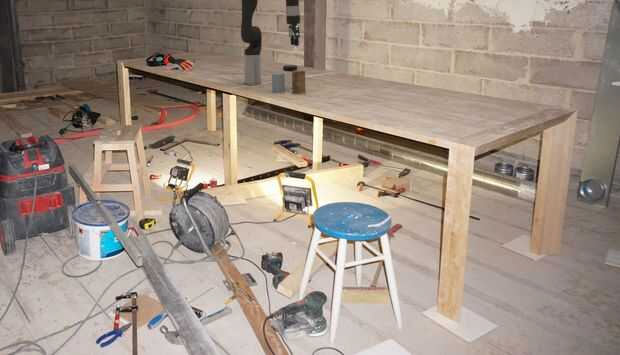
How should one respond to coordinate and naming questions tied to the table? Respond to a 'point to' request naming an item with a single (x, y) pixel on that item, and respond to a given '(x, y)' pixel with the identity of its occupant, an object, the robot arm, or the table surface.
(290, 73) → the jar
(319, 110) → the table surface
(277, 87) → the grey block
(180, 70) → the table surface
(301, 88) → the walnut block
